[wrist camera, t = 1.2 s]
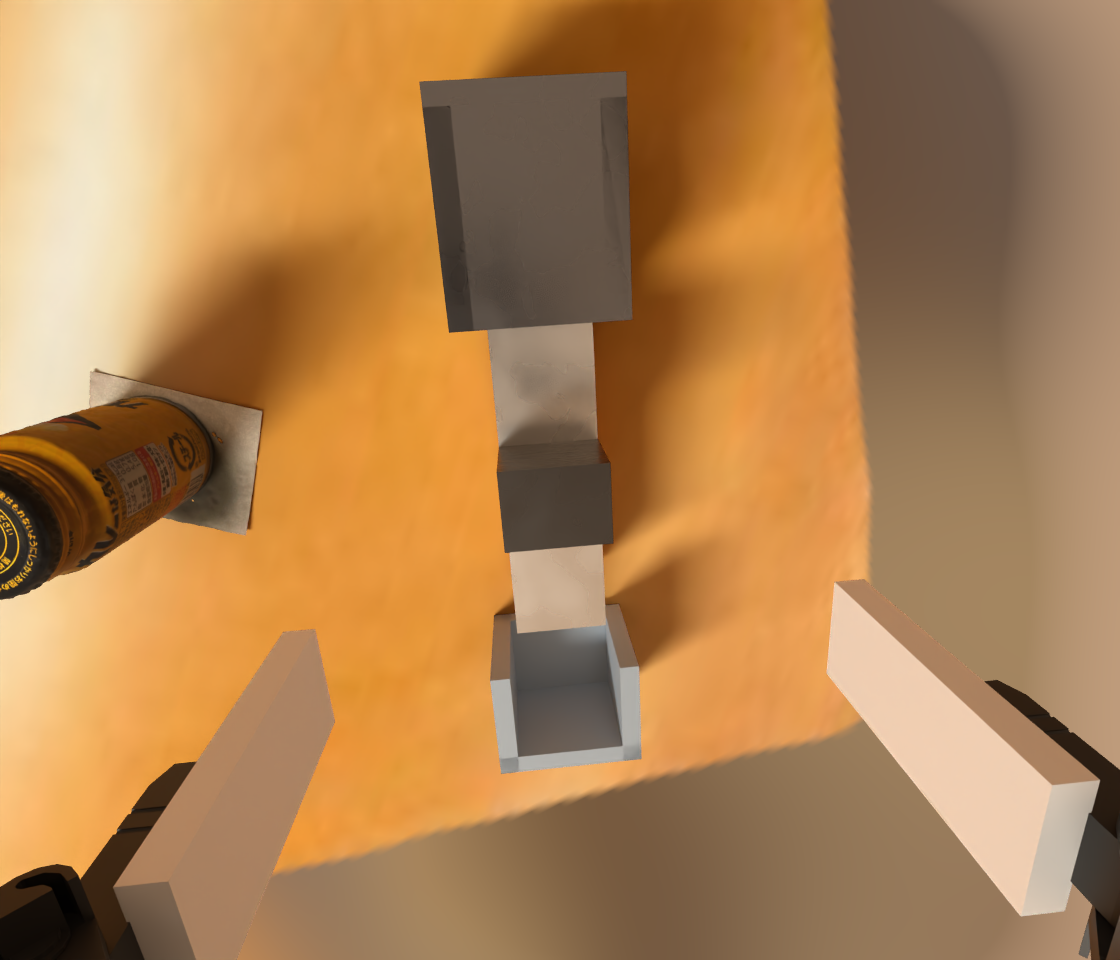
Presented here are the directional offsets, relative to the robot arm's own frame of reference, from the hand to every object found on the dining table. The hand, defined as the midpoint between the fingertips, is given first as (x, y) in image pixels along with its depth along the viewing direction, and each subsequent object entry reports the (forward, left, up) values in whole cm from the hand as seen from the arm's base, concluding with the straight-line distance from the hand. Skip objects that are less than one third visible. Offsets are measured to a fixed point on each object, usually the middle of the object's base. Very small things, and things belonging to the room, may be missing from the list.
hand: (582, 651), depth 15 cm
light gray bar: (-3, 0, -18) cm, 19 cm away
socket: (+13, 0, -20) cm, 24 cm away
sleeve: (-11, 0, -20) cm, 23 cm away
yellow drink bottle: (-1, -20, -20) cm, 28 cm away
